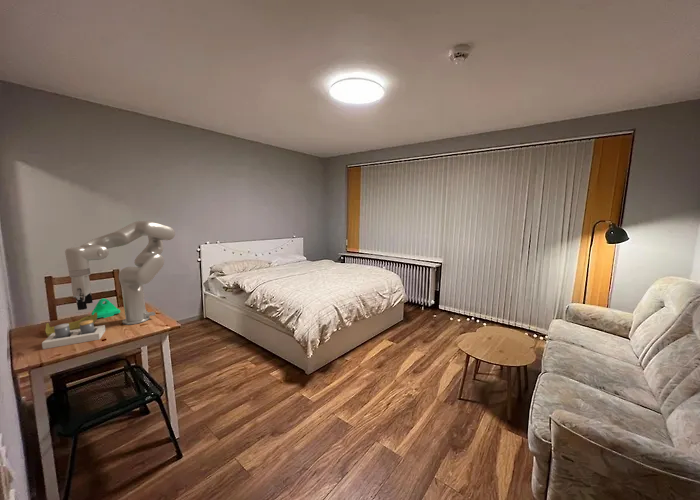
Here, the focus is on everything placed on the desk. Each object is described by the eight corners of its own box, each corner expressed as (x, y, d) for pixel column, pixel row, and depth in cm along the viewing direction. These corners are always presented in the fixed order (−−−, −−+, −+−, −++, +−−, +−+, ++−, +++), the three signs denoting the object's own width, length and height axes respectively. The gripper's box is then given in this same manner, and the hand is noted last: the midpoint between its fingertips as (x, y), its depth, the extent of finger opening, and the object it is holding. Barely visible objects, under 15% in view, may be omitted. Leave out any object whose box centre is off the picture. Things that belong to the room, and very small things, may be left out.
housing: (105, 331, 150) (104, 325, 150) (99, 340, 140) (98, 333, 139) (53, 339, 140) (52, 333, 140) (42, 350, 130) (41, 343, 130)
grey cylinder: (72, 338, 141) (70, 322, 140) (69, 342, 137) (66, 326, 136) (58, 340, 139) (56, 324, 138) (54, 344, 135) (52, 328, 133)
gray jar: (83, 336, 143) (81, 321, 142) (96, 334, 146) (94, 319, 145) (80, 340, 139) (77, 324, 138) (93, 337, 142) (91, 322, 140)
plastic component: (45, 334, 141) (46, 321, 147) (49, 344, 145) (50, 331, 151) (97, 322, 153) (96, 310, 159) (100, 331, 157) (99, 319, 163)
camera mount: (95, 320, 166) (93, 303, 164) (91, 317, 170) (89, 301, 169) (121, 314, 175) (119, 298, 174) (116, 311, 180) (114, 296, 178)
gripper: (75, 270, 143) (81, 302, 146) (62, 277, 129) (69, 313, 131) (94, 268, 147) (100, 299, 150) (84, 275, 132) (90, 310, 135)
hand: (85, 306), depth 141 cm, fingers open, 9 cm apart
